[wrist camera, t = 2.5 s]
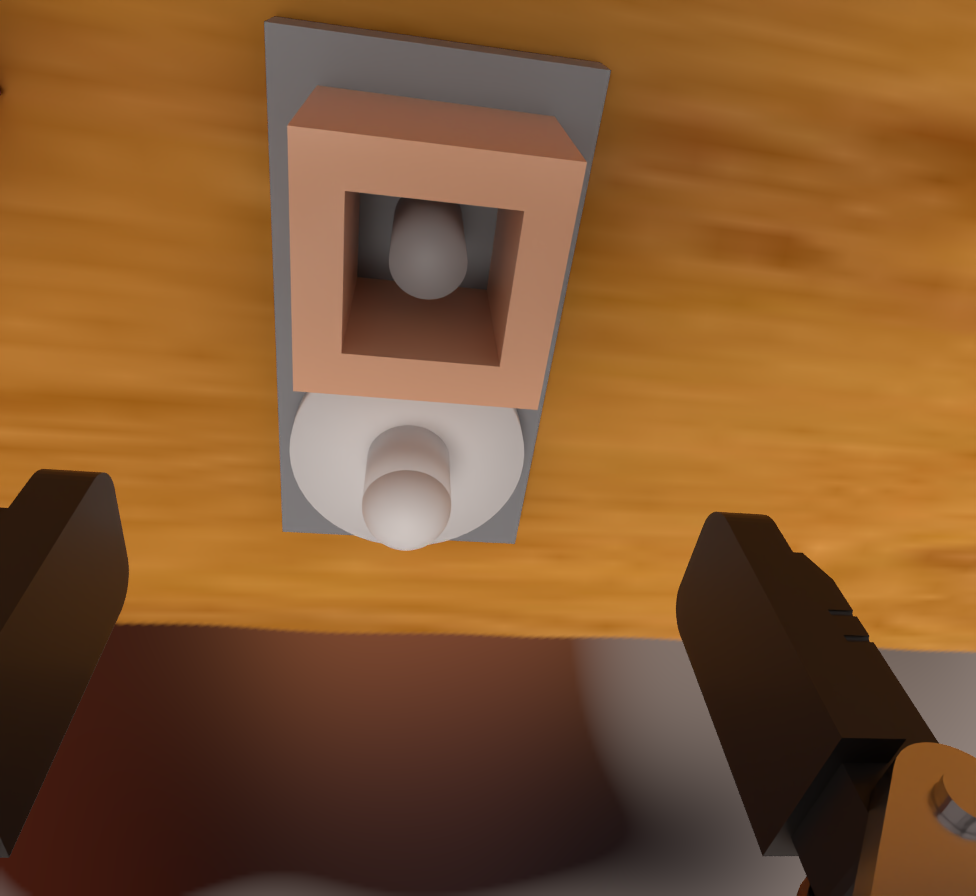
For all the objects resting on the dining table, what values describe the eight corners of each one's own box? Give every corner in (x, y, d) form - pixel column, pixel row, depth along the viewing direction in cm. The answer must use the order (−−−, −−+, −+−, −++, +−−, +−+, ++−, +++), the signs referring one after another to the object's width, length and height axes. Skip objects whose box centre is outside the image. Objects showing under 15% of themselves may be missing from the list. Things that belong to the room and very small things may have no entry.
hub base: (274, 16, 20) (218, 45, 14) (600, 62, 21) (658, 104, 15) (288, 506, 29) (258, 631, 24) (511, 519, 30) (528, 640, 25)
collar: (317, 85, 19) (287, 125, 15) (554, 116, 20) (586, 162, 16) (317, 309, 23) (293, 391, 19) (518, 328, 24) (537, 410, 20)
